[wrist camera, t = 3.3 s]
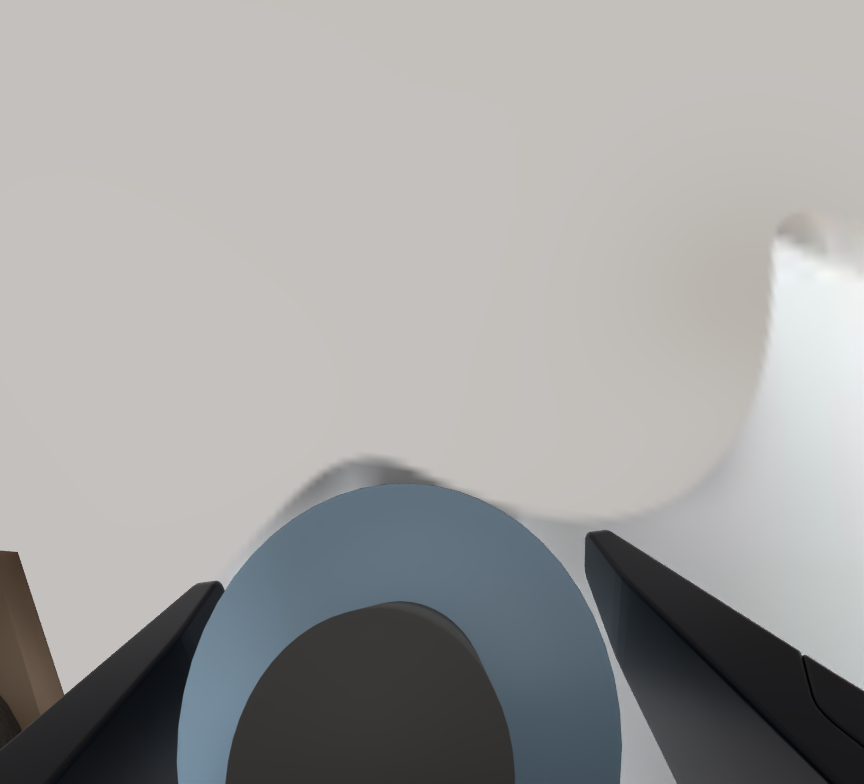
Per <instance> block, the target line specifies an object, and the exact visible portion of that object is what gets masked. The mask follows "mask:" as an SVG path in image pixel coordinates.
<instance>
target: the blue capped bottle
mask: <svg viewBox="0 0 864 784" xmlns="http://www.w3.org/2000/svg"><path fill="white" fill-rule="evenodd" d="M621 752H622V740H621V723H620V709H619V703H618V697H617V691H616V685H615V679H614V675H613V671H612V667H611V664H610V660H609V657H608V653H607V650H606V646H605V643H604V641H603V638H602V636H601V633H600V631H599V628H598V626H597V623H596V621H595V619H594V616H593V614H592V612H591V610H590V608H589V607H588V605H587V603H586V601H585V599H584V597H583V596H582V594H581V592H580V590H579V588H578V587H577V585H576V584H575V582H574V581H573V580H572V578H571V577H570V575H569V574H568V572H567V571H566V570H565V568H564V567H563V565H562V564H561V563H560V562H559V561H558V559H557V558H556V557H555V556H554V555H553V554H552V553H551V552H550V550H549V549H548V548H547V547H546V546H545V545H544V544H543V543H542V542H541V541H540V540H539V539H538V538H537V537H536V536H534V535H533V534H532V533H531V532H530V531H529V530H528V529H527V528H525V527H524V526H523V525H522V524H520V523H519V522H517V521H516V520H514V519H513V518H512V517H510V516H509V515H507V514H506V513H504V512H503V511H501V510H499V509H497V508H496V507H494V506H492V505H490V504H488V503H486V502H484V501H482V500H480V499H478V498H475V497H472V496H469V495H467V494H464V493H461V492H458V491H455V490H451V489H447V488H442V487H438V486H433V485H423V484H411V483H403V484H383V485H378V486H372V487H366V488H360V489H357V490H354V491H351V492H348V493H344V494H341V495H338V496H335V497H333V498H331V499H329V500H327V501H324V502H322V503H320V504H318V505H316V506H314V507H312V508H310V509H309V510H307V511H305V512H304V513H302V514H300V515H299V516H297V517H296V518H294V519H292V520H291V521H290V522H288V523H287V524H286V525H285V526H283V527H282V528H281V529H280V530H278V531H277V532H276V533H274V534H273V535H272V536H271V537H270V538H269V539H268V540H267V541H266V542H265V543H264V544H263V545H262V546H261V547H260V548H259V549H258V550H257V551H256V552H255V553H254V554H252V556H251V557H250V558H249V559H248V560H247V562H246V563H245V564H244V565H243V567H242V568H241V569H240V570H239V572H238V573H237V574H236V575H235V576H234V578H233V579H232V581H231V582H230V584H229V586H228V587H227V589H226V590H225V592H224V593H223V595H222V596H221V598H220V599H219V601H218V603H217V605H216V607H215V609H214V611H213V612H212V614H211V616H210V618H209V620H208V622H207V624H206V626H205V628H204V630H203V633H202V636H201V638H200V641H199V644H198V646H197V649H196V652H195V654H194V657H193V659H192V663H191V667H190V670H189V674H188V678H187V682H186V686H185V690H184V694H183V700H182V707H181V713H180V720H179V726H178V748H177V772H178V784H620V771H621Z"/></svg>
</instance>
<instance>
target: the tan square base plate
mask: <svg viewBox="0 0 864 784" xmlns="http://www.w3.org/2000/svg"><path fill="white" fill-rule="evenodd" d="M63 696H64V693H63V690H62V687H61V684H60V681H59V678H58V675H57V672H56V669H55V666H54V663H53V659H52V656H51V653H50V651H49V647H48V644H47V641H46V638H45V635H44V632H43V629H42V626H41V623H40V620H39V616H38V613H37V610H36V607H35V604H34V601H33V598H32V595H31V592H30V589H29V586H28V583H27V580H26V576H25V573H24V570H23V567H22V564H21V561H20V558H19V555H18V552H10V551H0V749H1V748H3V747H4V746H5V745H6V744H7V743H9V742H10V741H11V740H12V739H13V738H14V737H16V736H17V735H18V734H19V733H20V732H22V731H23V730H24V729H25V728H26V727H27V726H29V725H30V724H31V723H32V722H33V721H35V720H36V719H37V718H38V717H39V716H40V715H42V714H43V713H44V712H45V711H46V710H48V709H49V708H50V707H51V706H52V705H53V704H55V703H56V702H57V701H58V700H59V699H61V698H62V697H63Z"/></svg>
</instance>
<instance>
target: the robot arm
mask: <svg viewBox="0 0 864 784" xmlns="http://www.w3.org/2000/svg"><path fill="white" fill-rule="evenodd" d="M585 573H586V577H587V580H588V583H589V586H590V588H591V591H592V594H593V597H594V599H595V602H596V605H597V608H598V610H599V613H600V616H601V619H602V621H603V624H604V627H605V629H606V632H607V635H608V638H609V640H610V643H611V646H612V648H613V651H614V653H615V656H616V659H617V661H618V663H619V665H620V667H621V670H622V672H623V674H624V676H625V678H626V680H627V682H628V684H629V686H630V688H631V690H632V692H633V694H634V696H635V698H636V700H637V702H638V705H639V707H640V709H641V711H642V713H643V715H644V717H645V719H646V721H647V723H648V725H649V727H650V729H651V731H652V733H653V735H654V737H655V739H656V741H657V743H658V745H659V748H660V750H661V752H662V754H663V756H664V758H665V760H666V762H667V764H668V766H669V768H670V770H671V772H672V774H673V776H674V778H675V780H676V782H677V784H864V691H863V690H862V689H860V688H858V687H857V686H855V685H854V684H852V683H850V682H849V681H847V680H845V679H844V678H842V677H840V676H839V675H837V674H835V673H834V672H832V671H831V670H829V669H828V668H826V667H824V666H823V665H821V664H820V663H818V662H816V661H815V660H813V659H812V658H810V657H809V656H807V655H803V656H802V655H801V652H800V651H799V650H797V649H796V648H794V647H792V646H791V645H789V644H788V643H786V642H785V641H783V640H781V639H780V638H778V637H777V636H775V635H773V634H772V633H770V632H769V631H767V630H766V629H764V628H762V627H761V626H759V625H758V624H756V623H755V622H753V621H751V620H750V619H748V618H747V617H745V616H743V615H742V614H740V613H739V612H737V611H736V610H734V609H732V608H731V607H729V606H728V605H726V604H725V603H723V602H721V601H720V600H718V599H717V598H715V597H713V596H712V595H710V594H709V593H707V592H706V591H704V590H702V589H701V588H699V587H698V586H696V585H694V584H693V583H691V582H690V581H688V580H687V579H685V578H683V577H682V576H680V575H679V574H677V573H676V572H674V571H672V570H671V569H669V568H668V567H666V566H664V565H663V564H661V563H660V562H658V561H657V560H655V559H653V558H652V557H650V556H649V555H647V554H645V553H644V552H642V551H641V550H639V549H638V548H636V547H634V546H633V545H631V544H630V543H628V542H627V541H625V540H623V539H622V538H620V537H619V536H617V535H615V534H614V533H612V532H610V531H608V530H602V531H595V532H589V533H588V534H587V535H586V538H585ZM224 592H225V590H224V587H223V585H222V584H221V583H220V582H219V581H211V582H203V583H198V584H196V585H194V586H193V587H192V588H190V589H189V590H188V591H187V592H186V593H184V594H183V595H182V596H181V597H180V598H179V599H177V600H176V601H175V602H174V603H173V604H171V605H170V606H169V607H168V608H167V609H166V610H164V611H163V612H162V613H161V614H160V615H159V616H157V617H156V618H155V619H154V620H153V621H151V622H150V623H149V624H148V625H147V626H146V627H144V628H143V629H142V630H141V631H140V632H138V633H137V634H136V635H135V636H134V637H133V638H131V639H130V640H129V641H128V642H127V643H125V644H124V645H123V646H122V647H121V648H120V649H118V651H116V652H115V653H114V654H112V655H111V656H110V657H109V658H108V659H107V660H105V661H104V662H103V663H102V664H101V665H100V666H98V667H97V668H96V669H95V670H94V671H92V672H91V673H90V674H89V675H88V676H87V677H85V678H84V679H83V680H82V681H81V682H79V683H78V684H77V685H76V686H75V687H74V688H72V689H71V690H70V691H69V692H68V693H66V694H65V695H64V696H63V697H62V698H61V699H59V700H58V701H57V702H56V703H55V704H53V705H52V706H51V707H50V708H49V709H48V710H46V711H45V712H44V713H43V714H42V715H40V716H39V717H38V718H37V719H36V720H35V721H33V722H32V723H31V724H30V725H29V726H27V727H26V728H25V729H24V730H23V731H22V732H20V733H19V734H18V735H17V736H16V737H14V738H13V739H12V740H11V741H10V742H9V743H7V744H6V745H5V746H4V747H3V748H1V749H0V784H178V772H177V748H178V726H179V720H180V713H181V707H182V700H183V694H184V690H185V686H186V682H187V678H188V674H189V670H190V667H191V663H192V659H193V657H194V654H195V652H196V649H197V646H198V644H199V641H200V638H201V636H202V633H203V630H204V628H205V626H206V624H207V622H208V620H209V618H210V616H211V614H212V612H213V611H214V609H215V607H216V605H217V603H218V601H219V599H220V598H221V596H222V595H223V593H224Z"/></svg>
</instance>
